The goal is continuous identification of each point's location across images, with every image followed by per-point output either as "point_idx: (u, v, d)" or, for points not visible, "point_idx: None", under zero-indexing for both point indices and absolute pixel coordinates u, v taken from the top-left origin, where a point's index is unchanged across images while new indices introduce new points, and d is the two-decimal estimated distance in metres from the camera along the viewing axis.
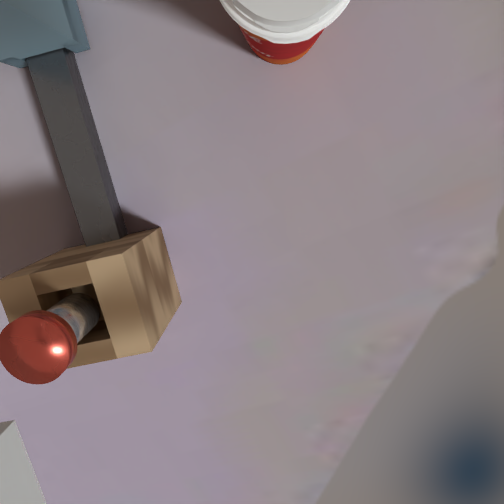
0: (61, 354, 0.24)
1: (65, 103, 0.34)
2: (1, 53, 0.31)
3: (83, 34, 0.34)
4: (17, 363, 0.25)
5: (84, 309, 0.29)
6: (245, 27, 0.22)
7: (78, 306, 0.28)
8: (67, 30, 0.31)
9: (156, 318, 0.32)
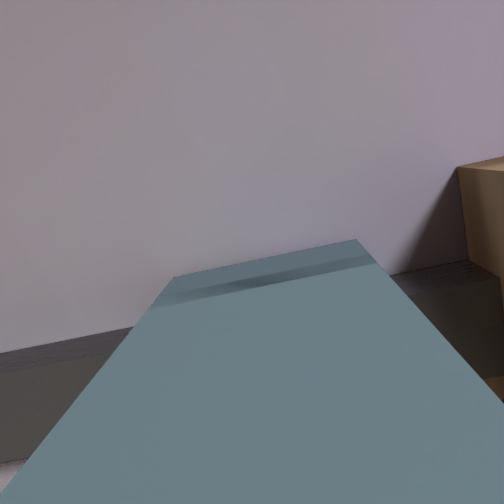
0: None
1: None
2: None
3: (326, 249, 0.13)
4: None
5: None
6: None
7: None
8: (362, 274, 0.10)
9: None
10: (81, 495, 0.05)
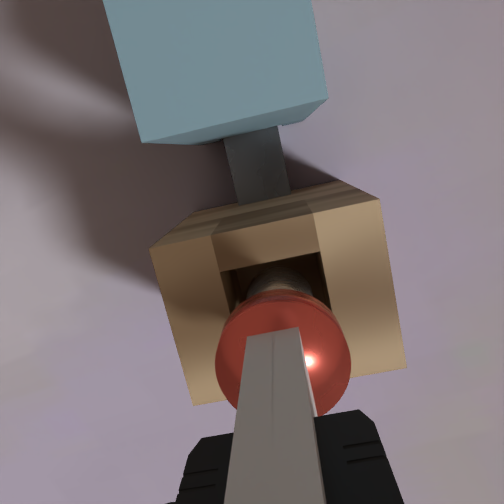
0: (337, 372, 0.13)
1: None
2: (209, 139, 0.21)
3: None
4: None
5: (309, 291, 0.17)
6: None
7: (302, 286, 0.17)
8: None
9: None
10: None
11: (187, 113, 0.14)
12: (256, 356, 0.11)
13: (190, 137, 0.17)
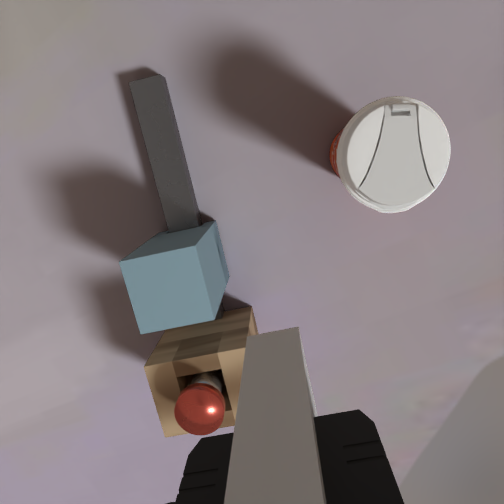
0: (219, 415, 0.35)
1: (184, 213, 0.43)
2: None
3: (226, 268, 0.45)
4: (187, 421, 0.35)
5: (219, 376, 0.39)
6: (360, 202, 0.31)
7: (215, 374, 0.39)
8: (224, 282, 0.42)
9: None
10: (204, 253, 0.35)
11: (159, 324, 0.34)
12: (256, 356, 0.11)
13: None
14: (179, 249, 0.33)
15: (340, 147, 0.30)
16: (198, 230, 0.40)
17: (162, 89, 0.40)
